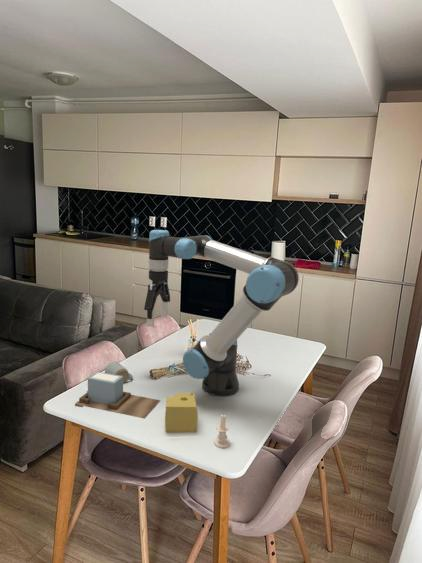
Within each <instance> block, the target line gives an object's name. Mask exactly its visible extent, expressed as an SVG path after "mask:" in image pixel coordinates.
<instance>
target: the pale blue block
mask: <svg viewBox="0 0 422 563" xmlns="http://www.w3.org/2000/svg"><path fill="white" fill-rule="evenodd" d="M87 391H88V399H90V401H91V402H96V403H101V404H106V405H108V404H109V403H113V404H116V403H117V402H118V401H119V400H120V399H121V398H122V397H123V392H124V383H123V376H119V375H114V374H108V373H105V372H103V371H96V372H95V373H93V374H92V375H90V376H89V377H88V378H87Z"/></svg>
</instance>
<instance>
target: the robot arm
mask: <svg viewBox="0 0 422 563" xmlns="http://www.w3.org/2000/svg"><path fill="white" fill-rule="evenodd" d="M195 256H200V257H202V258H205V259H208V260H210V261H213V262H216V263H219V264H221V265H224V266H227V267H230V268H232V269H234V270H235V269H236V270H238V271H240V272H242V273H246V274H249V275H248V276H247V278H246V281H245V285H244V286H243V287H242V293H243V294H242V295H241V296H240V298H239V299H238V300H237V301H236V303H235V304H233V306H232V307H231V308H230V310H229V311H228V312H227V313H226V314H225V316H224V317H223V318H222V319H221V321H220V322H219V323H218V324H217V325H216V327H215V328H214V329H213V330H212V332H210V333H209V334H208V335H203V336H202V337H201V338H200V339H199V340H198V341H197V342H196V344H195V345H194V346H193V347H191V348H188V349H187V350H186V351H185V352H184V354H183V357H182V363H183V368H184V370H185V371H186V373H187V374H188V375H189V376H190V377H192V379H197V380H202V381H201V382H202V386H201V387H202V389H203V391H204V392H205V393H207V394H210V395H213V396H216V397H217V396H220V397H224V396H225V397H226V396H231V395H235V394H236V393H238V392H239V389H240V382H239V379H238V378H239V377H238V374H237V371H236V369H237V356H238V355H237V353H238V339H239V338H240V337H241V335H242V334H243V333H244V332H245V331H246V330H247V329H249V327H250V325H251V324H252V323H253V322H254V321H255V320H256V319H257V318H258V317H259V315H261V313H262V312H263V311H265V312H268V311H270V310H271V309H272V308H273V307H274V306H275V304H277V302H279V300H281V298H282V297H285V296H286V295H289V294H291V293H292V292H293V291H295V290H296V288H297V286H298V285H299V281H300V278H299V272H298V271H297V268H296V267H295V266H294V265H293V264H292V263H290V262H288V261H284V260H282V259H278V258H275V257H272V256H270V257H268V258H266V257H264V256H260V255H257V254H254V253H252V252H249V251H246V250H243V249H240V248H237V247H233V246H231V245H228V244H225V243H222V242H219V241H217V240H213V239H212V238H211V237H210V236H209V235H206V234H205V235H202V234H200V235H195V236H194V235H192V236H184V237H176V236H174V237H173V236H170V232H169V231H168V230H166V229H164V230H163V229H153V230H151V231H150V232H149V239H148V261H147V262H148V269H149V270H148V279H149V280H150V281H152V282H151V284H150V283H149V284H148V285H147V294H146V297H145V301H144V302H145V303H144V308H143V310H144V311H146V327H150V328H154V327H155V310H154V309H155V305H156V302H157V300H158V296H159V297H160V299H161V302H160V318H168V315H169V314H168V313H169V312H168V311H169V310H168V309H169V308H168V306H169V304H168V303H170V302H171V295H170V289H169V280H168V279H169V271H168V269H169V257H170V258H171V257H172V258H176V259H177V258H178V259H180V260H190V259H191V260H192V259H193V258H194V257H195Z"/></svg>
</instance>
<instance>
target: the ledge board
mask: <svg viewBox="0 0 422 563" xmlns="http://www.w3.org/2000/svg"><path fill="white" fill-rule="evenodd" d="M131 393H132V392H127V391H123V397H122V398H121V399H120V400H119V401H118V402H117V403H116V404H113V403H109V404H108V405H106V404H101V403H96V402H91V401H90V399H88V390H86V392H85V393H84V394H83V395H82V396H80V397H79V398H78V401H76V402H75V403H74V406H75V407H79V408H80V407H81V408H83V407H85V408H86V407H88V408H92V409H95V410H101V411H107V412H111V413H116V414H120V415H126V416H130V417H134V418H135V417H136V418H140V419H146V418H147V417H148V416H149V414H150V413H151V412H152V411H153V410H154V409H155V408H156V407H157V406H158V404H159V403H160V402H161V399H155V398H152V397H151V398H150V397H146V396H140V395H135V394H131Z"/></svg>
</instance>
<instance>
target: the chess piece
mask: <svg viewBox="0 0 422 563" xmlns="http://www.w3.org/2000/svg"><path fill="white" fill-rule="evenodd" d="M226 422H227V416H226V414H225V413H223V414H221V415H220V422H219V425H217V426H216V430H217V431H218V434H217V436H216V437H217V438H215V439H214V440H213V444H214V446H215V447H216V448H220V449H225V448H228V447H229V446H230V445H231V441H230V439H228V435H227V432H228V431H229V430H230V428H229V426H228V425H226Z"/></svg>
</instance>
